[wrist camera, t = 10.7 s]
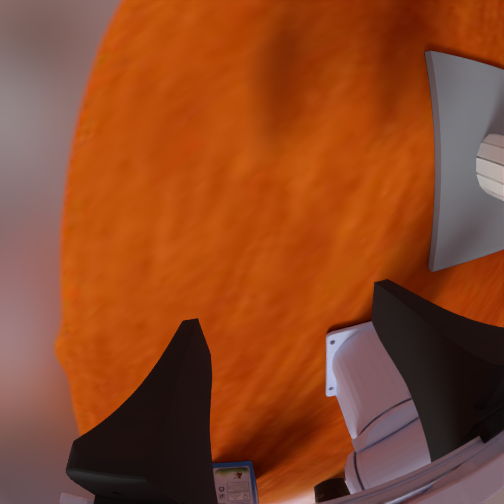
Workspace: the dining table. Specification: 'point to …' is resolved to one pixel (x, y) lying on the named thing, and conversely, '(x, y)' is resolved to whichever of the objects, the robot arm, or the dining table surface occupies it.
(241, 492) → the milk carton
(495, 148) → the paper roll
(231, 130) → the dining table surface
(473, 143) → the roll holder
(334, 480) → the coffee mug
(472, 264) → the dining table surface
